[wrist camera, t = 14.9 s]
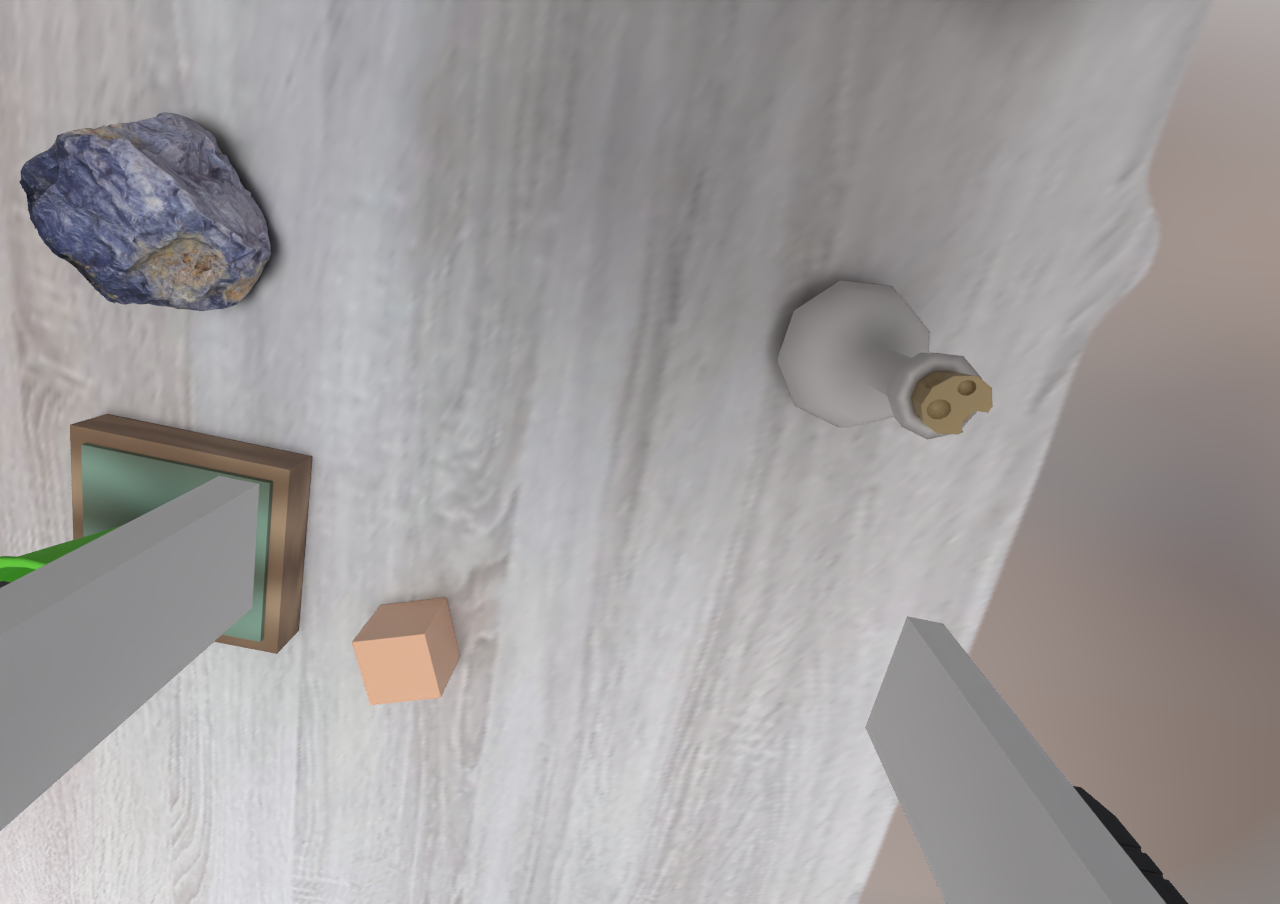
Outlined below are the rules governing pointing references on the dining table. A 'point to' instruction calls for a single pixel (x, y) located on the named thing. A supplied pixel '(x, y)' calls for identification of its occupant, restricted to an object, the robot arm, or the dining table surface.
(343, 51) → the dining table surface
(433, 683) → the terracotta block
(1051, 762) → the robot arm
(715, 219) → the dining table surface
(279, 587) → the tray
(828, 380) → the potion bottle
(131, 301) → the rock
